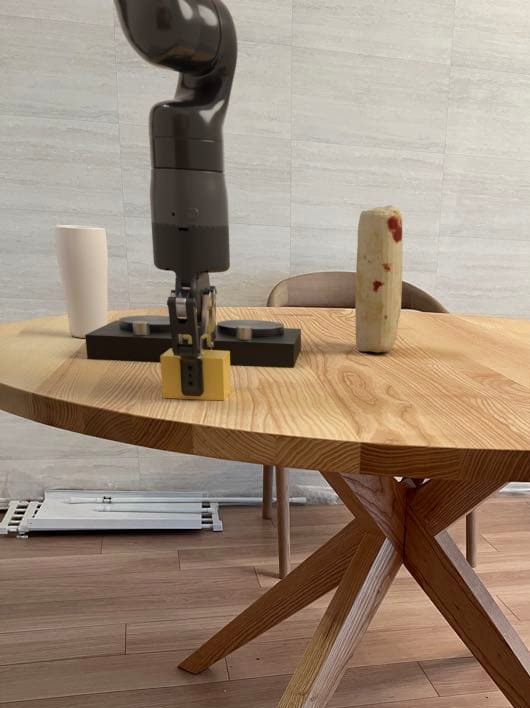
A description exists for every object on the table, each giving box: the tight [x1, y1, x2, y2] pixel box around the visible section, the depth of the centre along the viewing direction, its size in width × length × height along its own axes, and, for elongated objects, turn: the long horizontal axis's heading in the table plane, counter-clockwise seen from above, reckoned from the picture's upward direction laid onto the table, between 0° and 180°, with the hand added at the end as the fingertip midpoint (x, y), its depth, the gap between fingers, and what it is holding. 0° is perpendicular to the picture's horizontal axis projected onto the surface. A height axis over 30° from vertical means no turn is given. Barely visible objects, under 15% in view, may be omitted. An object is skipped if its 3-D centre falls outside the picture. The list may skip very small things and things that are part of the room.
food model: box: [354, 204, 404, 353], centre depth 118 cm, size 10×7×20 cm
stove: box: [84, 314, 302, 369], centre depth 111 cm, size 26×14×5 cm, turn 93°
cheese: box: [160, 348, 232, 401], centre depth 88 cm, size 6×5×4 cm
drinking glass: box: [54, 224, 109, 339], centre depth 118 cm, size 7×7×15 cm
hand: (197, 389), depth 88 cm, fingers closed on cheese, 4 cm apart
